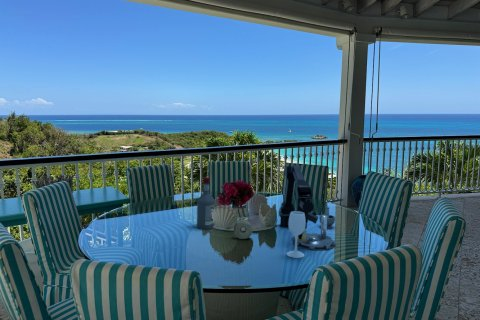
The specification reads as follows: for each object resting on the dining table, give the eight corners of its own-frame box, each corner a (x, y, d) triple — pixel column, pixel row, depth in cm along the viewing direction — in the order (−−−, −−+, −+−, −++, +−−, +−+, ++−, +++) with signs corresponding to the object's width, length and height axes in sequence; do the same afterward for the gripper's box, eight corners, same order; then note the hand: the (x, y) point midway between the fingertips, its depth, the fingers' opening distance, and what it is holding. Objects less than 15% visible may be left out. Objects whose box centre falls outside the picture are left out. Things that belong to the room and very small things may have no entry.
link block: (296, 239, 200) (296, 231, 200) (296, 237, 204) (296, 230, 203) (305, 240, 199) (305, 232, 199) (305, 238, 203) (306, 231, 202)
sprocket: (311, 252, 187) (312, 225, 185) (283, 239, 206) (284, 214, 205) (344, 245, 198) (345, 220, 197) (315, 233, 218) (316, 210, 217)
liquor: (194, 227, 224) (195, 178, 221) (203, 224, 232) (204, 176, 229) (207, 230, 220) (208, 179, 217) (215, 226, 228) (217, 177, 225)
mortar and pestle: (335, 230, 229) (336, 210, 228) (319, 228, 231) (320, 209, 229) (333, 225, 240) (334, 206, 239) (318, 224, 242) (319, 205, 240)
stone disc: (233, 239, 206) (233, 221, 205) (233, 237, 209) (234, 219, 208) (252, 240, 205) (252, 222, 204) (252, 238, 209) (253, 220, 208)
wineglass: (284, 251, 188) (286, 210, 186) (302, 251, 189) (304, 210, 187) (288, 258, 179) (290, 215, 177) (306, 258, 180) (308, 215, 178)
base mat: (311, 253, 187) (311, 252, 187) (283, 240, 206) (283, 239, 206) (343, 246, 199) (343, 246, 199) (315, 234, 218) (315, 234, 218)
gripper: (317, 213, 189) (315, 243, 190) (318, 205, 207) (316, 233, 209) (295, 211, 191) (293, 241, 193) (297, 203, 209) (296, 231, 211)
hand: (300, 236), depth 201 cm, fingers open, 9 cm apart
